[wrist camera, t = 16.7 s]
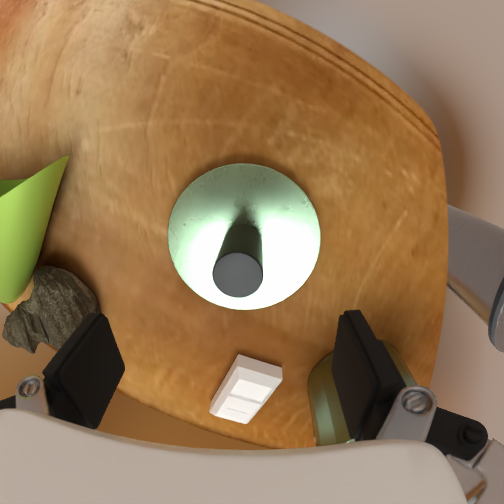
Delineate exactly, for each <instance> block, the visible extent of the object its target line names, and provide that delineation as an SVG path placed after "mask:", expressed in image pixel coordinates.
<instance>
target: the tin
mask: <svg viewBox="0 0 504 504" xmlns="http://www.w3.org/2000/svg"><path fill="white" fill-rule="evenodd" d="M382 342H383V343H384V345H385V347H386V349H387V351H388V352H389V354H390V356H391V358H392V359H393V361H394V363H395V365H396V367H397V369H398V370H399V372H400V374H401V376H402V378H403V380H404V382H405V384H406V386H407V387H408V386H411V385H417V383H416V381H415V380H414V378H413V376H412V374H411V372H410V371H409V369H408V367H407V365H406V363H405V362H404V360H403V358H402V356H401V355H400V353H399V352H398V351H397V350H396V348H395V347H394V346H392V345H391V344H389V343H388V342H385V341H382ZM333 354H334V351H333V352H331V353H330V354H328V355H327V356H325V357H324V358H323V359H322V360H321V361H320V362H319V363H318V364H317V365H316V366H315V368H314V369H313V371H312V372H311V374H310V377H309V380H308V397H309V403H310V409H311V415H312V421H313V428H314V434H315V441H316V447H317V446H326V445H334V444H341V443H350V442H355V439H350V437H349V433H348V430H347V426H346V422H345V419H344V415H343V411H342V408H341V404H340V401H339V397H338V394H337V390H336V387H335V383H334V380H333V376H332V372H331V365H332V359H333Z"/></svg>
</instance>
